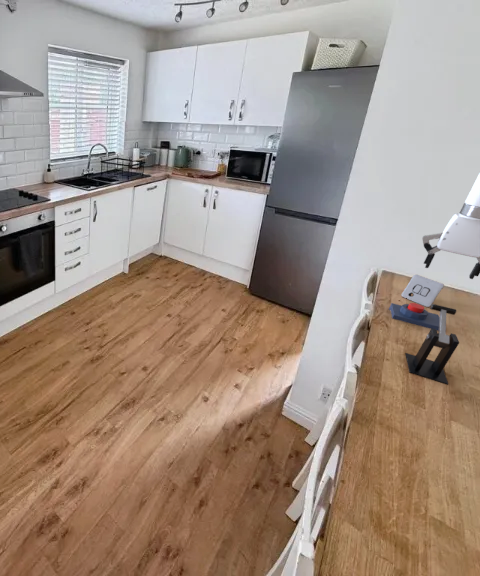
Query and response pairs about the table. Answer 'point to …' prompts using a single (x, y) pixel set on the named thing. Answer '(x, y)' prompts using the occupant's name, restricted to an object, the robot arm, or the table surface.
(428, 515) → the table surface
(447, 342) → the lever
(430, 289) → the electrical switch
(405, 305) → the switch block
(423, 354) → the bracket
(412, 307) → the button
